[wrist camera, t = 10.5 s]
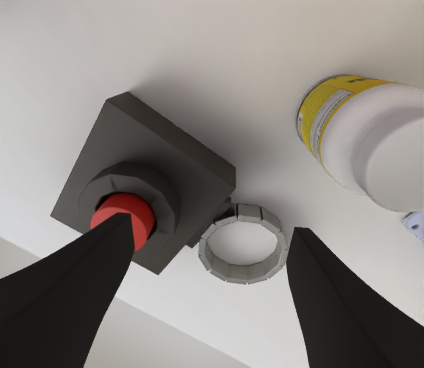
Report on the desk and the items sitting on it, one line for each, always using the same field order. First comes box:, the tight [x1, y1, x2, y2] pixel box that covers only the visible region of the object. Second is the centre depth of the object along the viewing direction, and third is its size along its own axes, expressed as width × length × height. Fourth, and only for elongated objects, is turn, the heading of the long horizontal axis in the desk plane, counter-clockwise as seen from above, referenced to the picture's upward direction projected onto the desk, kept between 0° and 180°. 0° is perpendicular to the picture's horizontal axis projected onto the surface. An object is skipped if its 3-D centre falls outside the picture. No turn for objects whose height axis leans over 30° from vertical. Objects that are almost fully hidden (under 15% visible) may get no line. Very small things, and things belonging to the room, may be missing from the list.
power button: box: [91, 193, 155, 251], centre depth 17 cm, size 4×4×2 cm
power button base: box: [50, 92, 236, 275], centre depth 19 cm, size 10×11×6 cm
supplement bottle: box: [296, 75, 424, 212], centre depth 14 cm, size 5×5×10 cm
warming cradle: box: [186, 196, 289, 285], centre depth 23 cm, size 9×8×2 cm
